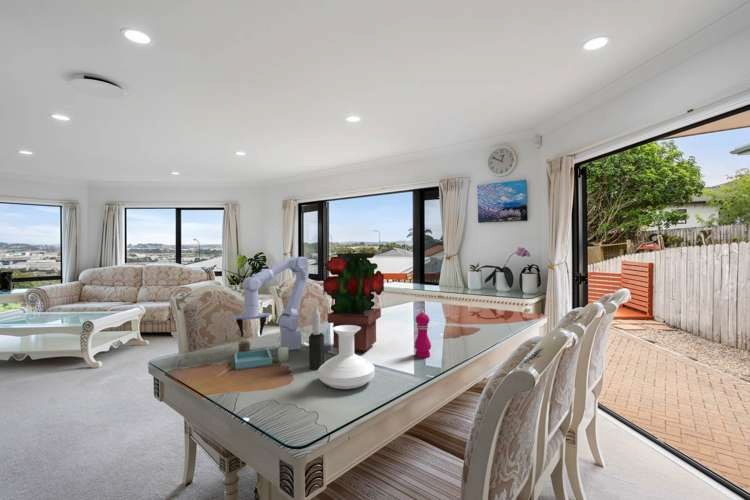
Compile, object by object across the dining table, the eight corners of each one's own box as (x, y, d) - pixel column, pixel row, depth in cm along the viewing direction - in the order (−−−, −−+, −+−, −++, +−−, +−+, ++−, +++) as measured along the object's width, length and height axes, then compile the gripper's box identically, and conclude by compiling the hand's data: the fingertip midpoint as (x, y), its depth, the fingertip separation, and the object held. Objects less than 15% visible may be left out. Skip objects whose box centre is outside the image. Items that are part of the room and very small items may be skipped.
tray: (268, 355, 156) (268, 348, 156) (272, 365, 143) (272, 357, 143) (234, 359, 151) (234, 352, 150) (235, 370, 138) (235, 362, 138)
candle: (320, 369, 137) (319, 306, 137) (308, 369, 138) (307, 305, 138) (325, 365, 142) (324, 304, 142) (313, 364, 143) (312, 303, 143)
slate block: (274, 352, 161) (274, 346, 161) (275, 355, 157) (275, 348, 157) (265, 353, 159) (265, 347, 159) (266, 356, 156) (266, 349, 156)
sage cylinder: (287, 357, 153) (287, 346, 153) (289, 360, 148) (289, 349, 148) (277, 359, 151) (276, 347, 151) (278, 362, 147) (278, 350, 147)
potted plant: (324, 353, 158) (323, 254, 158) (342, 340, 180) (341, 253, 179) (370, 357, 152) (369, 253, 152) (384, 343, 173) (383, 252, 173)
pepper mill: (430, 353, 157) (430, 308, 157) (431, 358, 150) (431, 311, 149) (414, 353, 157) (414, 308, 157) (414, 358, 150) (414, 311, 150)
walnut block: (249, 353, 160) (249, 340, 160) (249, 356, 156) (249, 342, 155) (238, 354, 158) (238, 341, 158) (238, 357, 154) (238, 344, 154)
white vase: (346, 368, 138) (345, 320, 138) (386, 380, 125) (385, 326, 125) (306, 384, 123) (305, 329, 123) (347, 399, 110) (347, 338, 110)
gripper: (267, 302, 161) (267, 331, 161) (233, 304, 155) (233, 335, 155) (269, 304, 154) (269, 335, 154) (233, 306, 149) (233, 338, 149)
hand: (251, 335), depth 154 cm, fingers open, 7 cm apart
